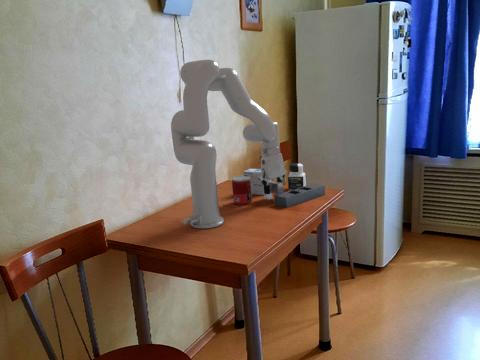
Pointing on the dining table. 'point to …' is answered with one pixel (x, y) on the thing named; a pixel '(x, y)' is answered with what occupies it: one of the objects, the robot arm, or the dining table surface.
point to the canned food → (241, 190)
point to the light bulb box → (255, 181)
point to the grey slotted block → (299, 195)
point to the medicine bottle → (296, 177)
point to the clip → (274, 189)
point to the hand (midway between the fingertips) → (273, 191)
